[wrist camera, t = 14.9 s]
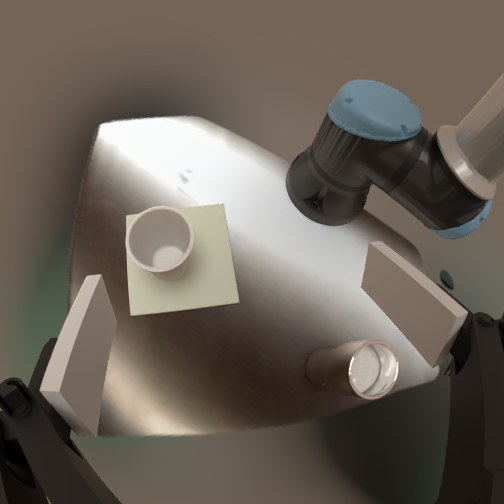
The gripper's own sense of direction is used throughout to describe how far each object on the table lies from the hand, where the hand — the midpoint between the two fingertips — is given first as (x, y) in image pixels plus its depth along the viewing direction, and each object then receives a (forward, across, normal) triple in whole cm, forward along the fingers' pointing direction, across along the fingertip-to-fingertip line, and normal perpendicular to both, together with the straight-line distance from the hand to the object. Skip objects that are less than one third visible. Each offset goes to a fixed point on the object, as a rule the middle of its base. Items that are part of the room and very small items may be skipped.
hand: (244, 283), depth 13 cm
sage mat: (+28, -5, -13) cm, 32 cm away
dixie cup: (+28, -6, -13) cm, 31 cm away
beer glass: (+15, +14, -27) cm, 34 cm away
